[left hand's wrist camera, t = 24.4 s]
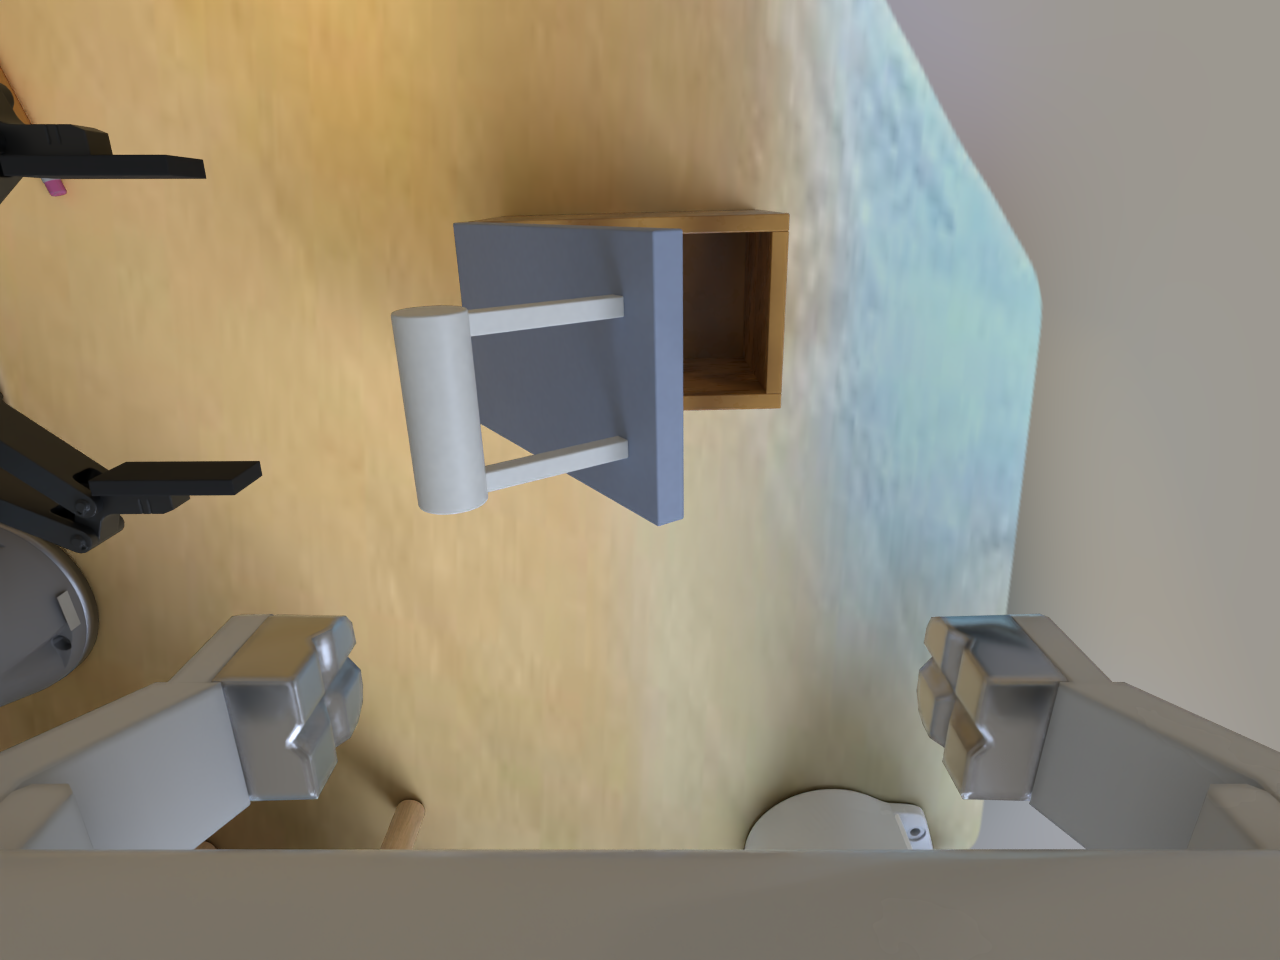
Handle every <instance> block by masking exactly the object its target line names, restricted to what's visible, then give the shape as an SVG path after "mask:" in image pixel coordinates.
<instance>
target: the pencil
mask: <svg viewBox="0 0 1280 960" xmlns="http://www.w3.org/2000/svg"><path fill="white" fill-rule="evenodd" d="M0 83H2V84H3V85H5V86H6V87H7V88H8V89H9V90H10V91H11V93H12V95H13V97H14V106H13V110H14V112H15V114H16V115H17V116H18V118H19V119H20V120H21V121H22V122H23V123H24V124H31V123H30V121H29V119H28V118H27V116H26V114H25V112H24V110H23V108H22V106H21V104H20V103H19V101H18V99H17V97H16V95H15V93H14V91H13V89H12V88H11V86H10V84H9V82H8V80H7V78H6V76H5V74H4V73H3V71H2V69H1V67H0ZM41 179H42V181H43V183H44V184H45V186H46V188H47V190H48V191H49V193H50V195H51V196H60V195H64V194H66V192H67V191H66V189H65V187H64V185H63V183H62V181H61V179H50V178H41Z"/></svg>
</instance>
